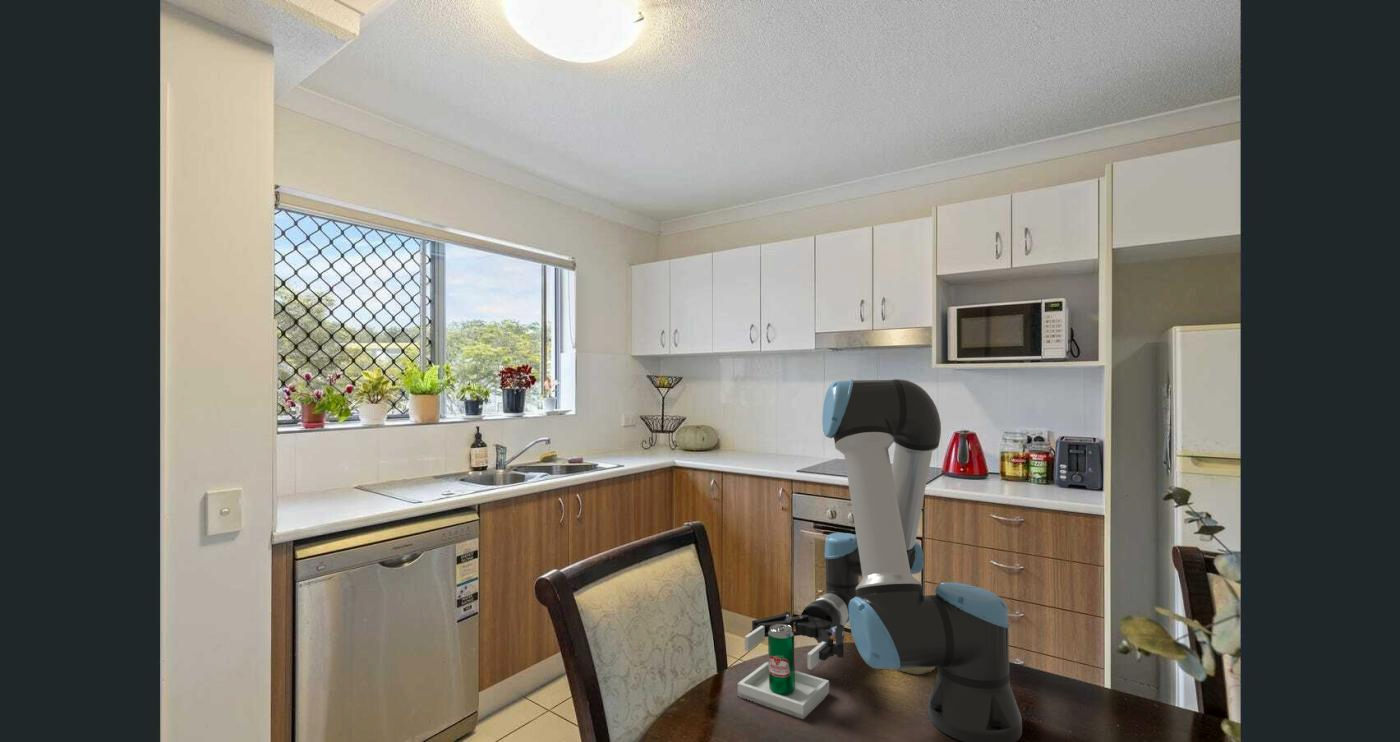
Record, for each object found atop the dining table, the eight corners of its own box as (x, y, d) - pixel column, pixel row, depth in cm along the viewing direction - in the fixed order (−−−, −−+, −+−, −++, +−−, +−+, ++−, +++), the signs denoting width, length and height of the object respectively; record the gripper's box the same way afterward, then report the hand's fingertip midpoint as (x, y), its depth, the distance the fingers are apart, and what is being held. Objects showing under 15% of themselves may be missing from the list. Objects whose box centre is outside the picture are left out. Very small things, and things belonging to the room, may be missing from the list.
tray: (829, 693, 119) (829, 680, 119) (803, 719, 110) (802, 705, 110) (766, 673, 127) (766, 661, 127) (737, 696, 118) (737, 683, 119)
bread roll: (882, 662, 132) (882, 643, 132) (916, 655, 135) (916, 637, 135) (908, 679, 125) (908, 659, 125) (943, 671, 128) (943, 652, 128)
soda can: (765, 693, 118) (764, 630, 118) (774, 681, 122) (773, 621, 123) (790, 699, 116) (789, 635, 116) (798, 687, 120) (797, 625, 120)
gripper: (880, 648, 127) (838, 691, 110) (774, 621, 141) (722, 655, 124) (879, 611, 127) (837, 648, 110) (773, 588, 142) (722, 618, 124)
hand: (776, 652), depth 117 cm, fingers open, 13 cm apart
